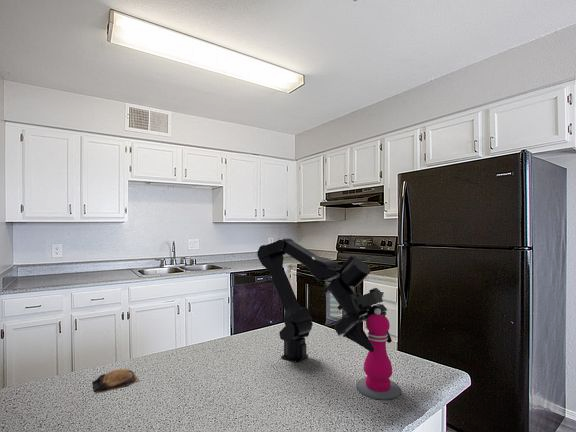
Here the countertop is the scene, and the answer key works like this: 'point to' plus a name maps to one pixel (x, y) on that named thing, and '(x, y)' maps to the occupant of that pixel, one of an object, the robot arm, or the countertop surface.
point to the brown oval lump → (114, 380)
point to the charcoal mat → (387, 395)
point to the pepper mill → (378, 354)
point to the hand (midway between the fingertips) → (382, 346)
